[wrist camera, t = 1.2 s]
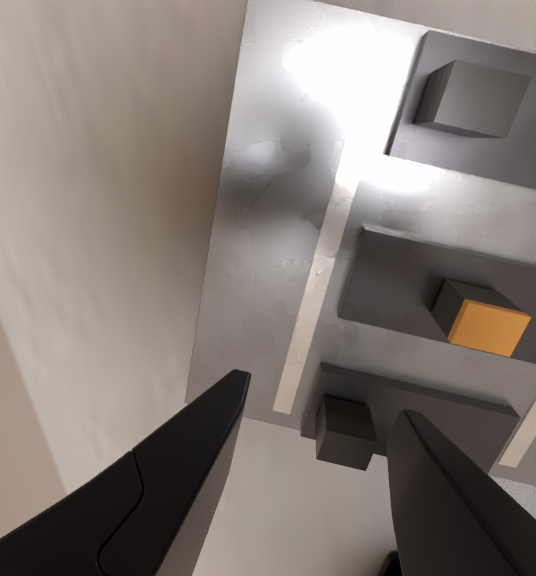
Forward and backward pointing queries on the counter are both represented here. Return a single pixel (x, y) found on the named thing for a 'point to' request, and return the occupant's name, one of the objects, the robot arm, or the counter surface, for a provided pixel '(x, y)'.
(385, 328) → the breaker panel
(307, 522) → the counter surface
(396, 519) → the robot arm
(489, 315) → the block
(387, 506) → the counter surface
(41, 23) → the counter surface
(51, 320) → the counter surface
